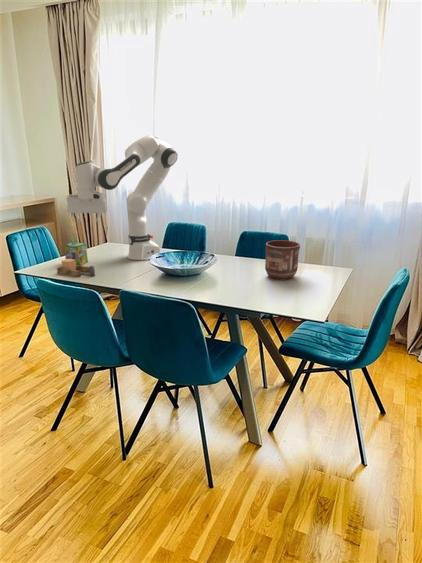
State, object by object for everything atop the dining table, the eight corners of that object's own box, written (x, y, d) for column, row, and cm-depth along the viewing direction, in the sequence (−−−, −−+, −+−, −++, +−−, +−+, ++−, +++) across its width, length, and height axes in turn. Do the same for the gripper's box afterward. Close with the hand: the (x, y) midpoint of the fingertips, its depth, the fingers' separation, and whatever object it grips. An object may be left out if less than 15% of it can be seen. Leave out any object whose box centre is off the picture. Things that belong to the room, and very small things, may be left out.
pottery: (297, 283, 210) (300, 248, 205) (262, 280, 214) (264, 246, 208) (297, 273, 227) (300, 240, 221) (265, 271, 230) (267, 239, 225)
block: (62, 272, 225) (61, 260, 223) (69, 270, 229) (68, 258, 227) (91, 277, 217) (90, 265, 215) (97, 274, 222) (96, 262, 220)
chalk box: (79, 266, 237) (76, 241, 232) (65, 265, 240) (62, 239, 235) (88, 262, 245) (86, 237, 241) (75, 260, 248) (72, 236, 243)
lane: (57, 273, 224) (56, 268, 223) (69, 268, 232) (69, 263, 231) (79, 277, 218) (79, 271, 217) (91, 272, 226) (91, 267, 225)
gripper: (64, 194, 210) (66, 222, 214) (104, 195, 210) (106, 222, 214) (68, 193, 216) (70, 220, 220) (107, 194, 216) (109, 220, 220)
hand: (88, 221), depth 217 cm, fingers open, 8 cm apart
